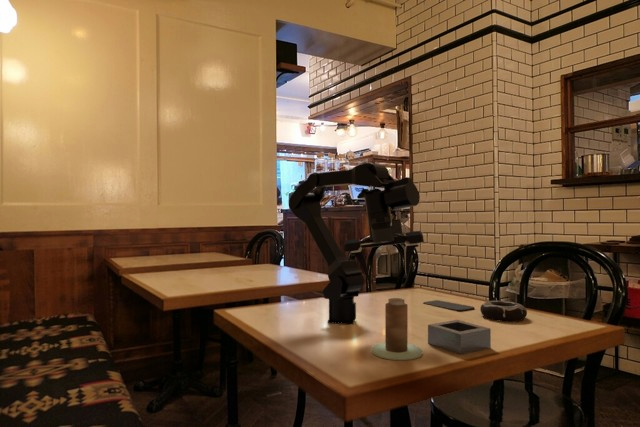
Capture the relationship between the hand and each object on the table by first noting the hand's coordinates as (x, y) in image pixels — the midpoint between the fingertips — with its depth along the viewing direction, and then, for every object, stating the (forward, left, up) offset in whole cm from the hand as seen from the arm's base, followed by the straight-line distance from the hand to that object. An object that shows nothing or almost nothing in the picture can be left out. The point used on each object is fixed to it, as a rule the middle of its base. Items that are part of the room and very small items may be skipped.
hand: (387, 278), depth 104 cm
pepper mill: (+2, -16, -12) cm, 20 cm away
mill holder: (+15, -9, -13) cm, 22 cm away
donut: (+31, +20, -13) cm, 39 cm away
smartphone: (+18, +33, -13) cm, 40 cm away
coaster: (+2, -16, -13) cm, 20 cm away
